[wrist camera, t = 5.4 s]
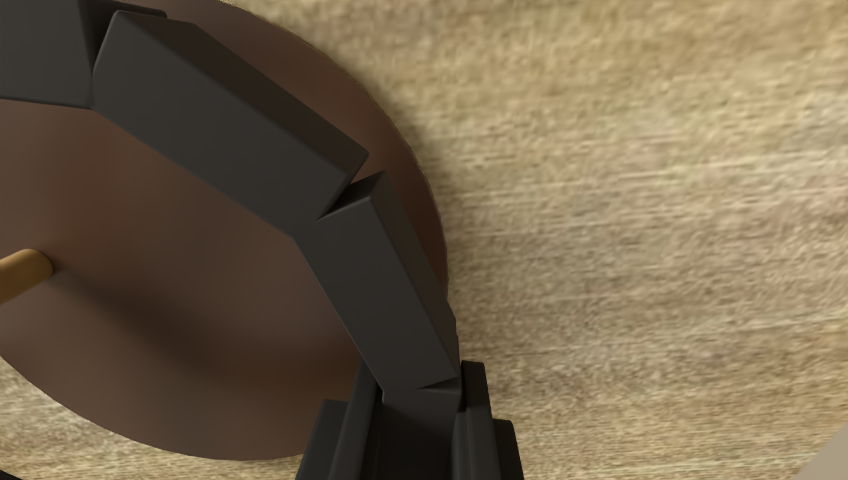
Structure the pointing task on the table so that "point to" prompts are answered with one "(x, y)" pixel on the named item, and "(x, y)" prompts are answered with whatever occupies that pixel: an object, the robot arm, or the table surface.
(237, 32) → the peg stand
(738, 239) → the table surface
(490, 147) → the table surface
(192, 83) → the ring
